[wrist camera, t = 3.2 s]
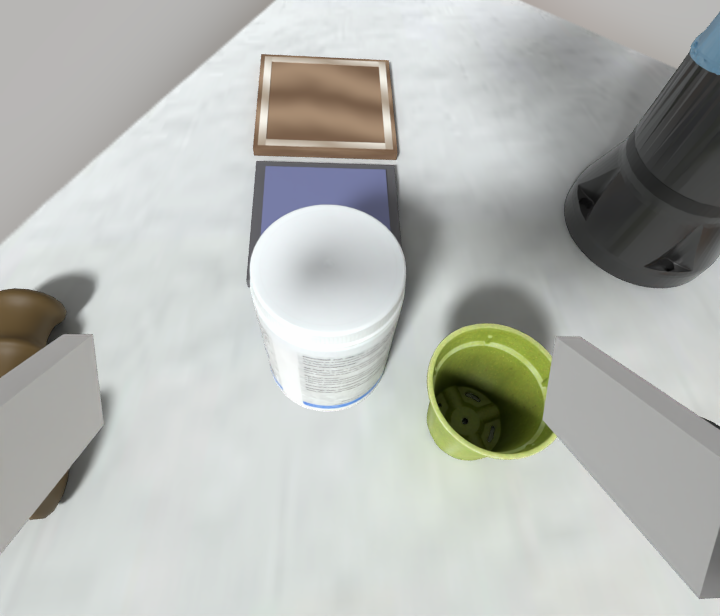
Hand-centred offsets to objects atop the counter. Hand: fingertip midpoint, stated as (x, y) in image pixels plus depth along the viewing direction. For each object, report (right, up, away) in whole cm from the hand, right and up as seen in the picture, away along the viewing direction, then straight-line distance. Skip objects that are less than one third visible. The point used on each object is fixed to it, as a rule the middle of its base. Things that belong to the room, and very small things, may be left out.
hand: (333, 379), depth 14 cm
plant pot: (+9, -7, +26) cm, 29 cm away
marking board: (-3, +25, +42) cm, 49 cm away
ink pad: (-3, +10, +34) cm, 36 cm away
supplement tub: (-2, -2, +28) cm, 28 cm away
